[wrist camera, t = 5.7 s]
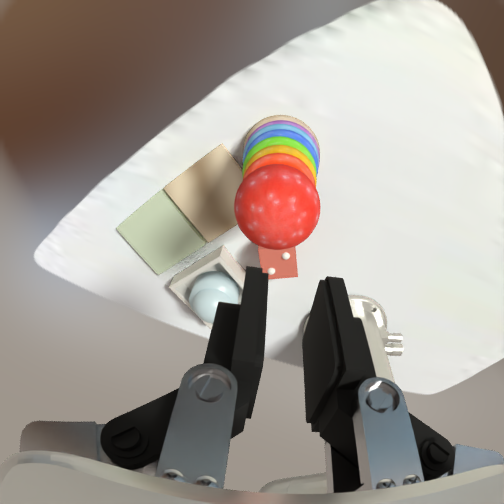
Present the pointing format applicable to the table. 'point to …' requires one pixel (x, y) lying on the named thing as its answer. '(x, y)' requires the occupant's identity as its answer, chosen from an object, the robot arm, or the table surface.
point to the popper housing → (211, 262)
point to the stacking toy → (278, 183)
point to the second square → (161, 233)
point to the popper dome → (212, 293)
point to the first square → (209, 192)
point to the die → (278, 262)
